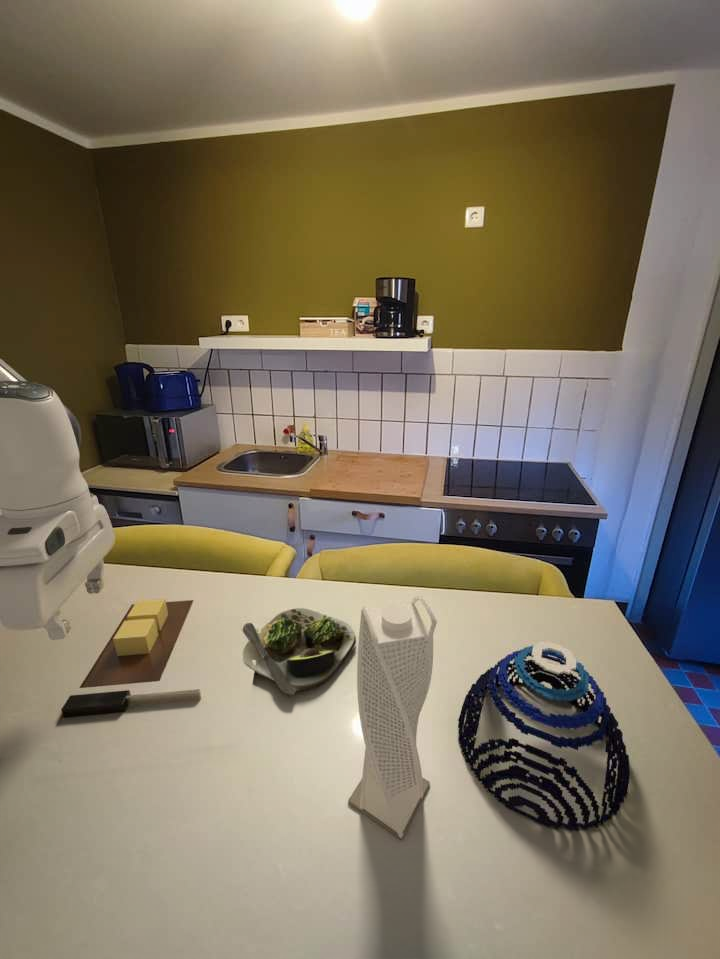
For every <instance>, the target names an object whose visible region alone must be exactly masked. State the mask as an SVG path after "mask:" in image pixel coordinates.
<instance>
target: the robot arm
mask: <svg viewBox="0 0 720 959" xmlns="http://www.w3.org/2000/svg"><path fill="white" fill-rule="evenodd" d="M81 444H82V429H81V425H80V423H79V420H78V419H77V418H76V416H75V415H74V413H73V412H72V410H70V409H69V408H68V407H67V406H66V405H65V404H64V403H63V402H62V401H61V399H60V397H59V396H58V394H57V393H56V392H55V390H54V389H53V388H51V387H48V386H46V385H44V384H42V383H38V382H32V381H28V380H27V379H25V378H24V377H23V376H22V375H21V374H19V373H18V372H17V371H16V370H15V369H14V368H12V367H11V366H10V365H9V364H7V363H6V361H4V360H3V359H2V358H0V512H1V514H0V623H1V625H2V626H3V627H4V628H5V629H8V630H10V631H15V632H16V631H30V630H37V629H42V628H43V629H45V630H46V632H47V635H48V638H49V639H50V640H53V641H55V640H57V641H59V640H64V639H65V638H66V637H67V635H68V634H69V633H70V631H71V630H72V628H71V625H70V621H69V619H68V618H67V619H61V618H60V617H59V616H60V615H61V607H62V606H64V604H65V603H66V601H68V599H69V598H71V596H72V595H73V593H74V592H76V590H77V589H78V588H79V587H80V586H81V585H82V583H83V582H84V586H85V589H86V593H88V594H90V595H92V594H99V593H100V592H101V591H102V590H103V589H104V587H105V581H104V570H105V560H104V558H105V557H106V556H107V554H108V553H109V552H110V551H111V550H112V549H113V548H114V546H115V543H116V535H115V530H114V528H113V525H112V521H111V519H110V516H109V514H108V511H107V510H106V508H105V506H104V505H103V504H101V503H99V499H98V497H97V495H95V494H94V493H92V492H90V489H89V488H90V487H89V485H88V482H87V480H86V479H85V478H84V476H83V474H82V472H81V468H80V459H81V458H80V456H81V454H80V448H81ZM85 580H86V581H85Z"/></svg>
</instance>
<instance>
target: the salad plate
mask: <svg viewBox="0 0 720 959" xmlns="http://www.w3.org/2000/svg"><path fill="white" fill-rule="evenodd" d="M242 629H243V632H244V633H245V634H246V637H247V638H248V641H247V642H246V644H245V645H244V647H243V649H242V650H243V651H242V656H243V657H242V658H243V661H244V664H245V665H246V666H247V667H248V668H249V669H251V670H253V671H254V672H255V673H257V674H258V675H261V676H263V677H265V678H267V679H269V680H271V681H273V682H274V683H275V684H276V686H277V687H278V688H279V689H280V690H281V692H283V693H284V694H286V695H290V696H294V695H295V693H296V692H297V691H307V690H311V689H315V688H318V687H321V686H322V685H323V684H326V682H328V681H329V680H330V679H331V678H332V677H333V676H334V675H335V674H336V673H337V671H338V670H339V669H340V668H341V667H342V666H343V665H344V663H345V662H346V660H347V659H348V658H349V656H350V654H351V653H352V651H353V649H354V648H355V646H356V644H357V638H356V634H355V631H354V630H353V628H352V626H351V625H350V624H349V623H348V622H346V621H344V620H342V619H338V618H336V617H333V616H329V615H326V614H323V613H320V612H319V611H315V610H313V609H309V608H306V607H305V608H304V607H295V608H289V609H286V610H283V611H281V612H280V613H278V614H276V615H275V616H274V617H273V618H272V619H271V620H269V622H268V623H266V625H264V626H263V627H262V628H261V629H260V632H259V629H258V628H256V627H255V625H254V624H253V623H251V622H247V623H245V624H244V625H243V627H242ZM253 661H255V664H254V662H253Z"/></svg>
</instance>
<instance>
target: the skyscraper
mask: <svg viewBox="0 0 720 959" xmlns="http://www.w3.org/2000/svg"><path fill="white" fill-rule="evenodd" d="M418 601H420V603H421V604H422V605H423V606H424V608H425V610H426V613H427V614H428V616H429V618H430V621H431V624H430V627H429V629H428V627H427V626H426V623H425V622H424V620H423V618H422V616H421V614H420V612H419V611H418V609H417V608H418V607H416V603H417V602H418ZM360 613H361V614H360V622H359V623H360V624H359V632H358V633H359V634H358V646H357V663H356V689H357V704H358V705H357V706H358V714H359V720H360V721H359V722H360V726H361V730H362V731H361V732H362V736H363V741H364V746H365V749H364V757H363V766H362V767H363V768H362V776H361V779H360V781H359V783H358V784H357V786H356V787H355V789H354V790H353V792H352V793H351V795H350V796H349V798H348V800H347V803H348V804H349V805H351V806H352V807H354V808H355V809H357V810H358V811H359V812H360V813H362V814H363V815H365V816H366V817H368V818H369V819H370V820H372V821H374V822H375V823H376V824H378V825H379V826H381V827H382V828H384V829H385V830H387V832H390V833H391V834H392V835H393V836H395V837H397V838H398V839H399V840H401V841H403V839H404V838H405V835H406V833H407V831H408V829H409V827H410V825H411V823H412V821H413V819H414V817H415V815H416V813H417V811H418V809H419V807H420V805H421V803H422V801H423V799H424V796H425V794H426V793H427V790H428V789H429V787H430V783H431V782H430V781H429V780H427V779H426V778H424V777H423V773H422V767H421V761H420V755H419V751H418V746H417V735H418V734H417V733H418V724H419V718H420V714H421V712H422V709H423V707H424V704H425V702H426V699H427V695H428V693H429V689H430V686H431V680H432V675H433V667H434V666H433V665H434V634H435V629H436V627H437V624H438V621H437V617H436V615H435V613H434V611H433V609H432V607H431V606H430V605H429V603H428V602H427V601H426V599H425V598H424V597H423V596H421V595H419V594H416V595H415V596H414V598H413V599H412V601H411V602H407V603H402V604H401V603H400V604H390V605H387V606H381V607H374V608H367V607H365V606H363V607H362V608H361V611H360Z"/></svg>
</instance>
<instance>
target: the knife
mask: <svg viewBox="0 0 720 959" xmlns="http://www.w3.org/2000/svg"><path fill="white" fill-rule="evenodd" d="M199 700H202V694H201V689H200V688H197V689H185V690H174V691H165V692H153V693H142V694H132V695H131V691H130V690H129V689H127V690H116V691H107V692H106V691H105V692H95V693H84V694H82V693H81V694H72V695H69V696H68V698H67V700H66V702H65V703H64V704H63V706H62V708H61V709H60V711H61V714H62V717H63V719H70V718H81V717H92V716H101V715H102V716H103V715H111V714H123V713H126V711H127V709H128V707H137V706H147V705H155V704H156V705H157V704H168V703H178V702H189V701H199Z"/></svg>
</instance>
